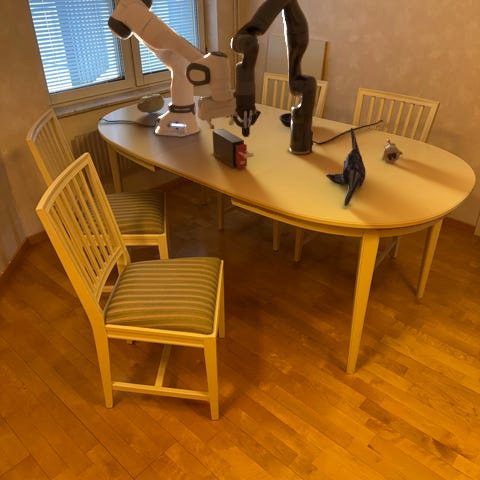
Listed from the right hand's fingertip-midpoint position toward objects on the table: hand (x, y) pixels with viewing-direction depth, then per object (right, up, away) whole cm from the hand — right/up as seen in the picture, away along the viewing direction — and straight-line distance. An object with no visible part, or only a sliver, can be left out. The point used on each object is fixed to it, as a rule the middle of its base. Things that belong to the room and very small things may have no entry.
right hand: (245, 136), depth 176 cm
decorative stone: (-53, +32, +80) cm, 101 cm away
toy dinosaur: (+37, -21, -6) cm, 43 cm away
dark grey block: (-7, -6, +19) cm, 21 cm away
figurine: (+64, -6, +17) cm, 66 cm away
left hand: (-10, +8, +15) cm, 20 cm away
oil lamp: (+27, +19, +57) cm, 66 cm away
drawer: (-4, -8, +14) cm, 16 cm away
